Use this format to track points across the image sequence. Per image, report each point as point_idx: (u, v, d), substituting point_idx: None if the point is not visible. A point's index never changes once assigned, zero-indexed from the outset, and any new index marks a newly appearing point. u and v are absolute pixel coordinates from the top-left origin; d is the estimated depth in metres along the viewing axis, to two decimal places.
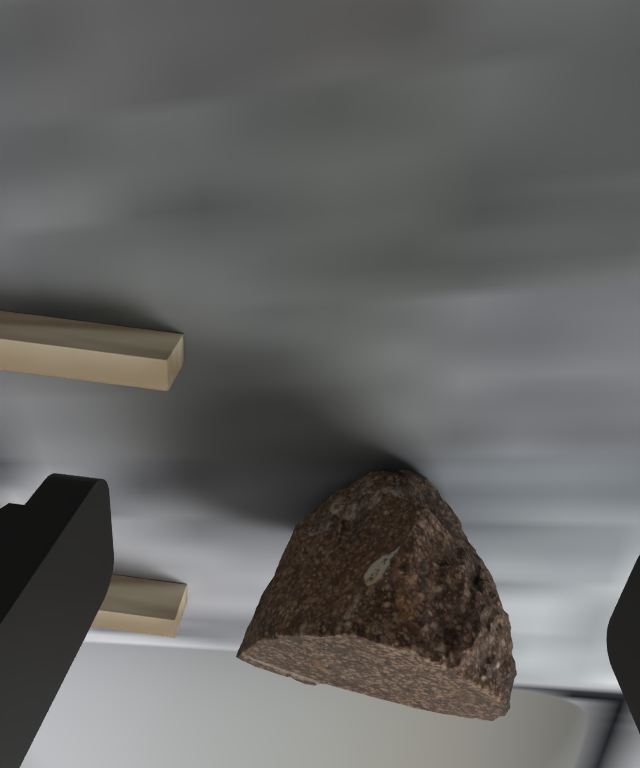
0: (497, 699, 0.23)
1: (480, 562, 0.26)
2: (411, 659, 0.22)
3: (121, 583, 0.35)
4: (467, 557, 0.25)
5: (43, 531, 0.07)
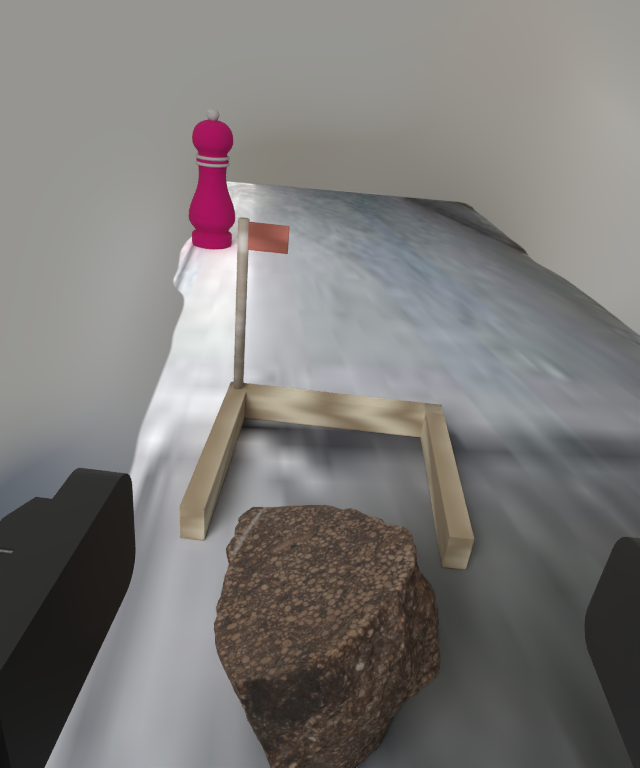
0: (335, 650, 0.20)
1: (368, 740, 0.23)
2: (392, 568, 0.23)
3: (216, 496, 0.41)
4: (397, 706, 0.23)
5: (72, 523, 0.08)
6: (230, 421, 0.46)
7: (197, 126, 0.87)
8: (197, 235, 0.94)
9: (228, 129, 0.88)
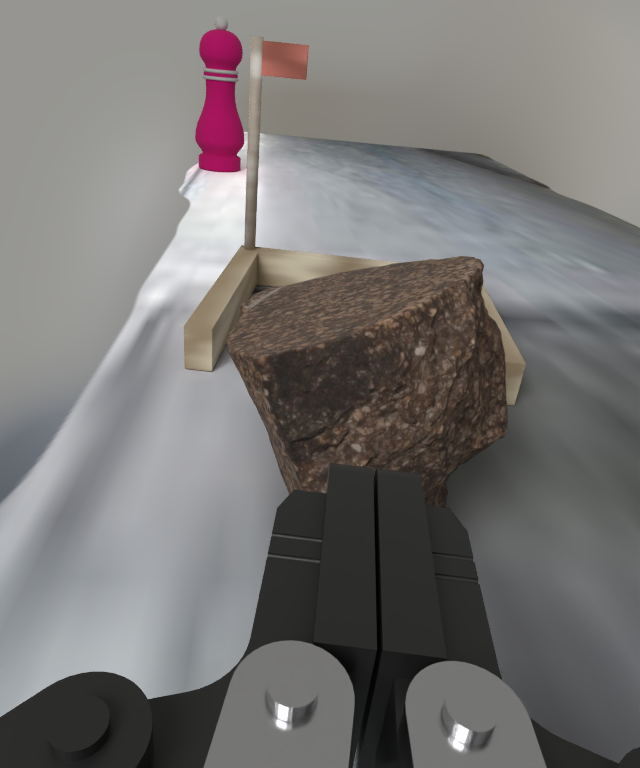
0: (388, 319, 0.15)
1: (423, 485, 0.18)
2: (453, 272, 0.18)
3: (226, 335, 0.36)
4: (459, 448, 0.18)
5: (357, 512, 0.08)
6: (241, 270, 0.41)
7: (204, 35, 0.83)
8: (204, 157, 0.89)
9: (237, 39, 0.83)
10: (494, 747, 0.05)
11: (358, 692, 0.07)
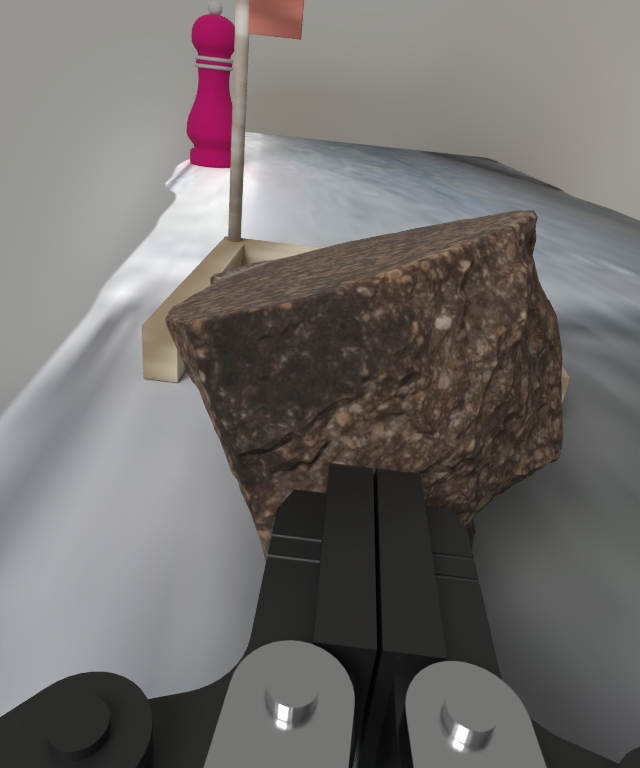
0: (395, 271, 0.10)
1: None
2: (494, 223, 0.13)
3: None
4: (496, 474, 0.13)
5: (357, 512, 0.08)
6: (221, 263, 0.34)
7: (197, 20, 0.77)
8: (195, 151, 0.83)
9: (232, 25, 0.78)
10: (494, 748, 0.05)
11: (358, 693, 0.07)
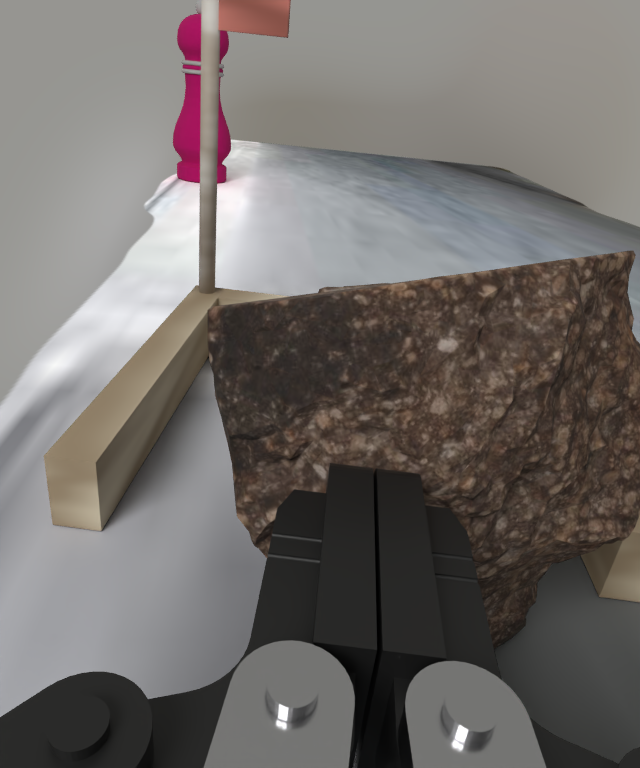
0: (401, 283, 0.10)
1: None
2: None
3: (142, 450, 0.21)
4: (521, 530, 0.11)
5: (358, 512, 0.08)
6: (184, 330, 0.26)
7: (183, 21, 0.69)
8: (183, 165, 0.75)
9: None
10: (494, 747, 0.05)
11: (358, 692, 0.07)
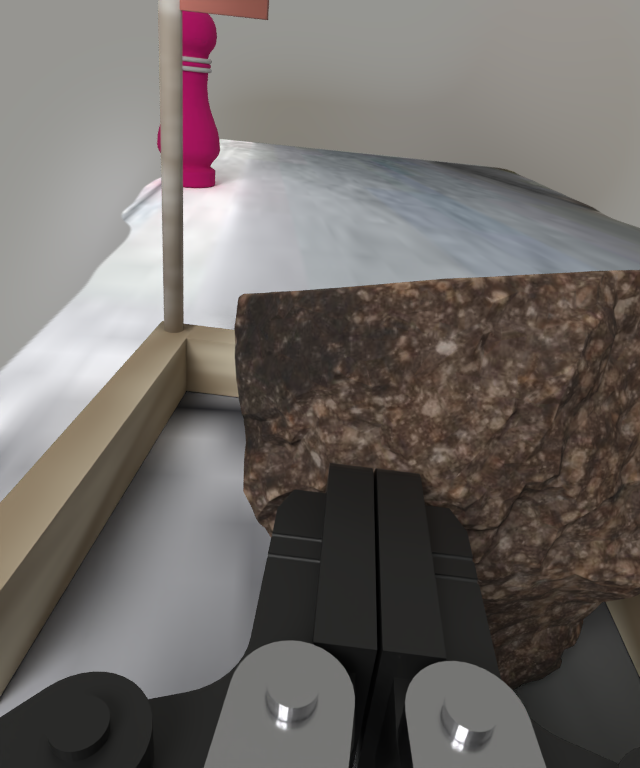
0: (405, 283, 0.10)
1: None
2: None
3: (69, 565, 0.16)
4: (528, 555, 0.11)
5: (358, 513, 0.08)
6: (138, 387, 0.21)
7: None
8: None
9: (209, 18, 0.64)
10: (494, 747, 0.05)
11: (358, 692, 0.07)
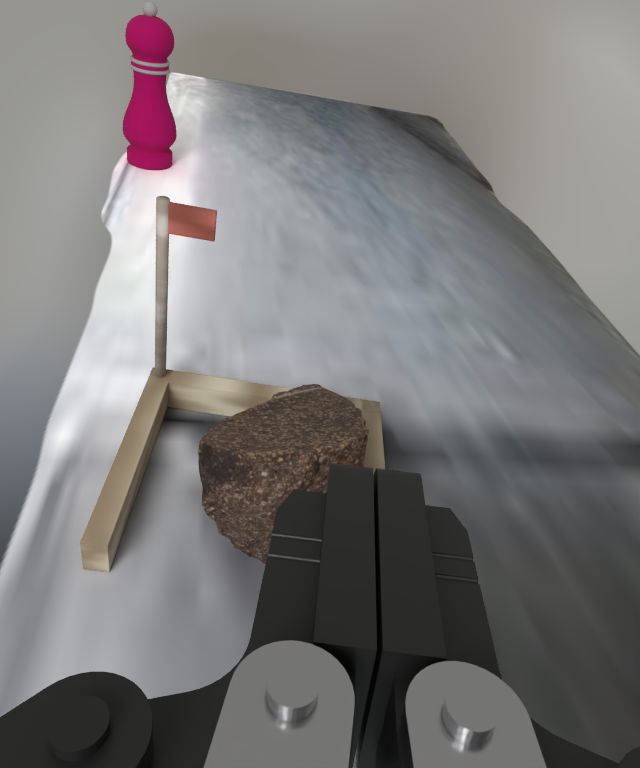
0: (252, 453, 0.31)
1: (268, 534, 0.33)
2: (329, 441, 0.32)
3: (126, 516, 0.38)
4: None
5: (358, 513, 0.08)
6: (147, 423, 0.42)
7: (131, 22, 0.75)
8: (132, 152, 0.83)
9: (168, 29, 0.76)
10: (494, 747, 0.05)
11: (358, 692, 0.07)
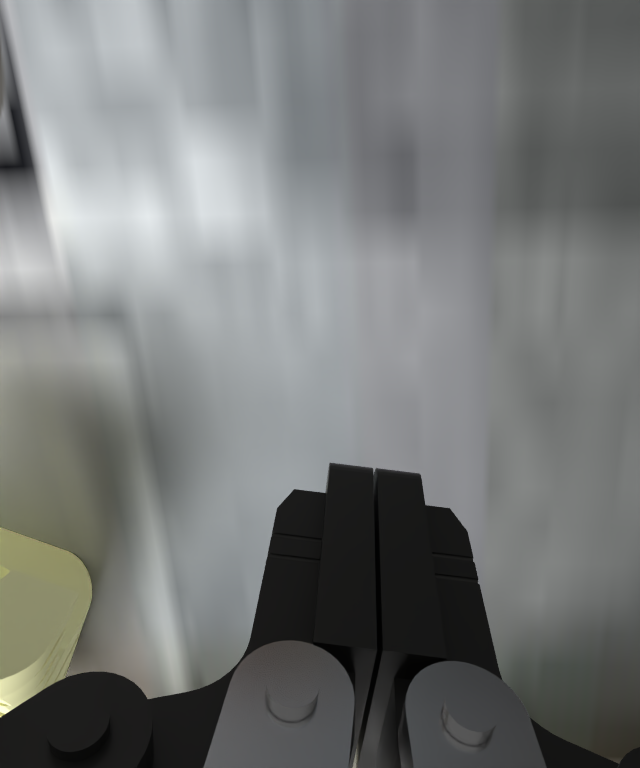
0: None
1: None
2: None
3: None
4: None
5: (358, 513, 0.08)
6: None
7: None
8: None
9: None
10: (494, 748, 0.05)
11: (358, 693, 0.07)
